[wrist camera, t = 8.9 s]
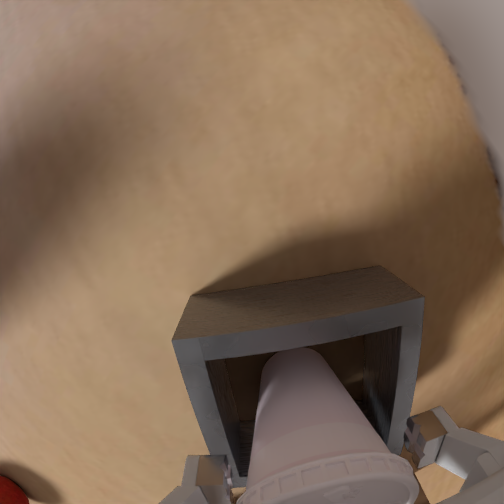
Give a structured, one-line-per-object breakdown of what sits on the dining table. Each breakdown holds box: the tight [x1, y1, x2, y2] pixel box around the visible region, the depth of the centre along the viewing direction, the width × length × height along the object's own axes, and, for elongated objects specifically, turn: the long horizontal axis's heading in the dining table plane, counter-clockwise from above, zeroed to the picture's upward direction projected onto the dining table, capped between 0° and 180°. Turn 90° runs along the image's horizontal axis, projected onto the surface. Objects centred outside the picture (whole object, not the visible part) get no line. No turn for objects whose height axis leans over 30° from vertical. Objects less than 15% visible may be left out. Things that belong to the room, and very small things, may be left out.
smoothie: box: [236, 347, 419, 504], centre depth 10 cm, size 6×6×14 cm
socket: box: [172, 266, 425, 488], centre depth 14 cm, size 10×10×4 cm
